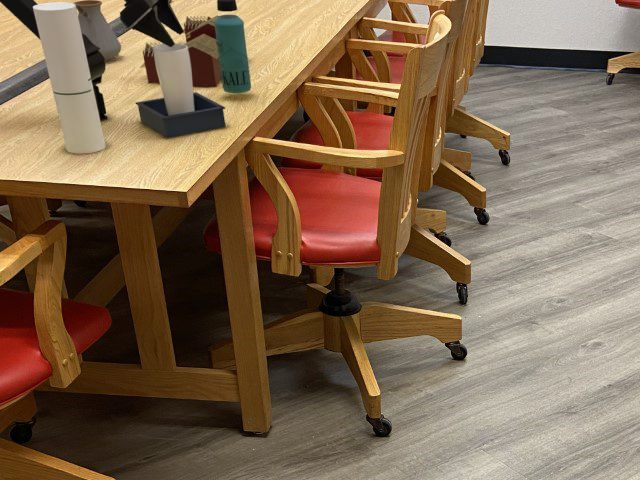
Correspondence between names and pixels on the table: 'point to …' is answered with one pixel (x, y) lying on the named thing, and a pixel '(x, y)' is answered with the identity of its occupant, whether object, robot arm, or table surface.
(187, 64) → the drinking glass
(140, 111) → the dark blue square tray
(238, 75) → the beverage bottle
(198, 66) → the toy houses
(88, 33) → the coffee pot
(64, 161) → the table surface
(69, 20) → the cylindrical container
